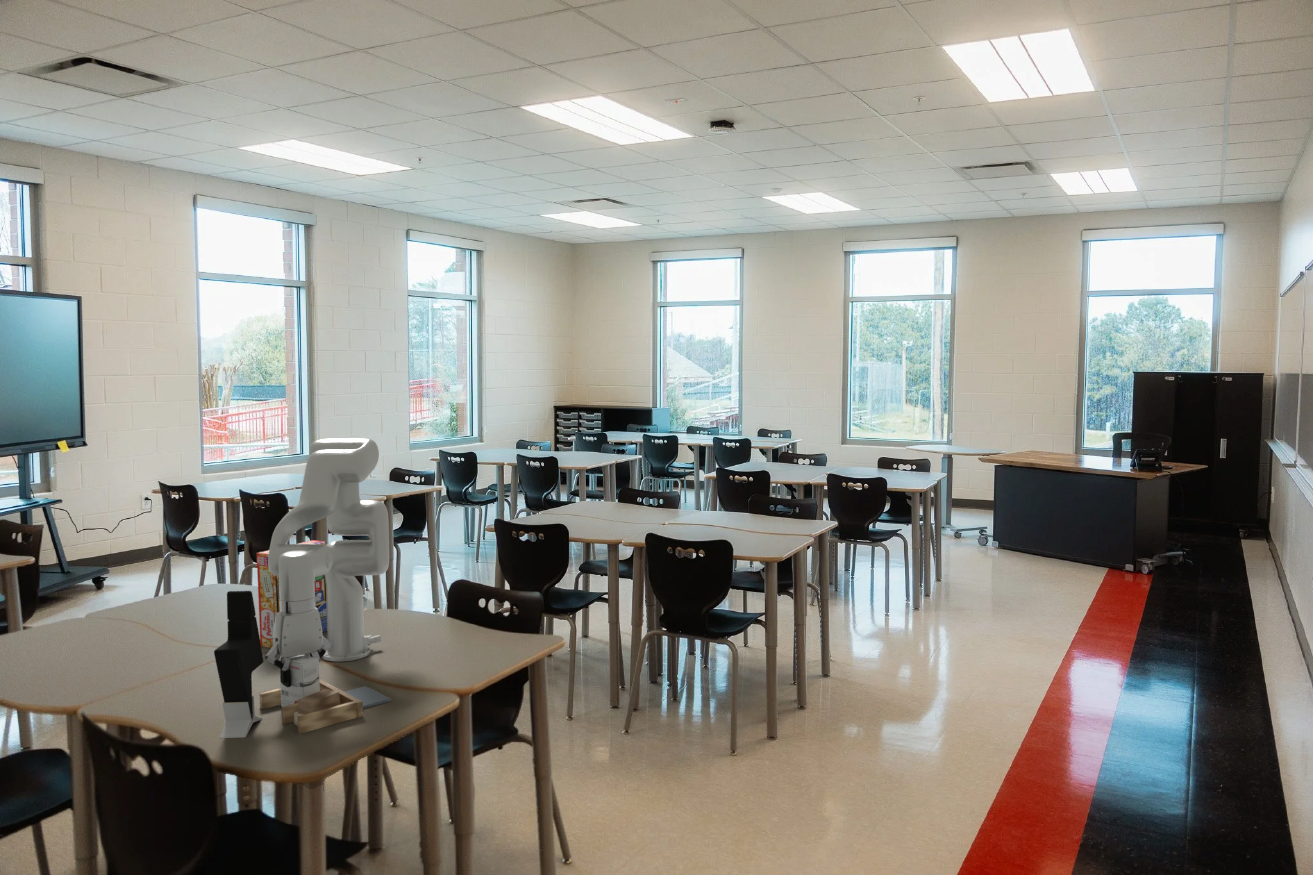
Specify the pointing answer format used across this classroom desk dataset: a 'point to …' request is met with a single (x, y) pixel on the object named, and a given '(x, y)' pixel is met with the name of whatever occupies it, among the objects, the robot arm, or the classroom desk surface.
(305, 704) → the offcut
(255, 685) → the classroom desk surface
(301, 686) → the ink box
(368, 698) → the mat
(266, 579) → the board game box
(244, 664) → the award
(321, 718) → the rack
